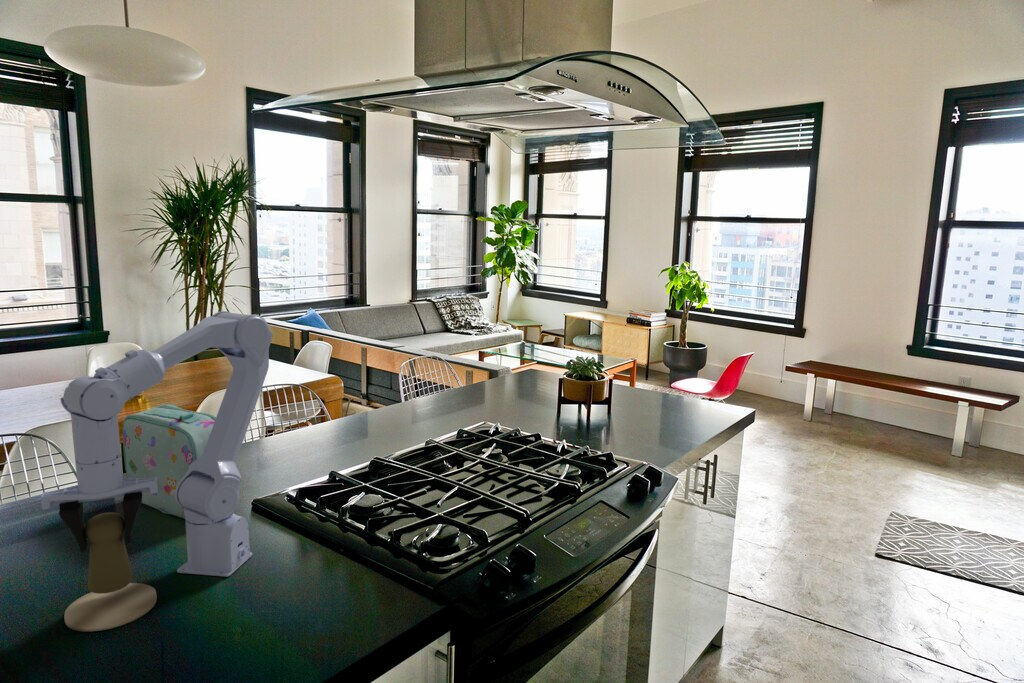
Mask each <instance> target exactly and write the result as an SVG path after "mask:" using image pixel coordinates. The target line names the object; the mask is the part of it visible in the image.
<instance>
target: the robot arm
mask: <svg viewBox="0 0 1024 683" xmlns="http://www.w3.org/2000/svg"><path fill="white" fill-rule="evenodd" d="M273 337H274V333H273V331H272V330H271V328H270V325H269V324H268V322H267V321H266V319H265V318H264V317H262V316H261V315H259V314H244V313H235V312H234V313H233V312H230V311H224V310H222V311H217V312H215V313H214V314H212V316H207V317H204V318H203V319H202V320H201V321H200V322H198V324H196V325H194V326H193V327H191V328H190V329H188V330H186V331H184V332H183V333H181V334H179V335H178V336H176V337H175V338H173V339H171V340H170V341H168V342H167V343H164V344H163V345H161V346H159V347H158V348H156V349H155V350H153V351H150V350H146V349H139V350H135V349H130V350H129V351H126V352H125V353H124V357H123V358H122V359H120V360H118V361H115V362H114V363H112V364H110V365H108V366H107V367H101V366H100V367H99V368H97V369H95V370H94V372H95V373H94V375H93V376H90V375H89V376H87V375H86V376H80V377H77V378H75V379H73V380H72V381H70V382H69V383H68V385H67V386H66V388H65V389H64V391H63V396H62V397H61V398H59V400H60V404H61V405H62V408H63V409H64V410H65V411H67V413H69V414H70V419H71V428H72V429H71V433H72V442H73V452H74V462H75V472H76V481H77V482H76V483H77V485H74V486H73V485H72V486H69V487H64V488H60V489H56V490H51V491H44V492H42V494H41V495H40V503H41V506H40V507H41V510H42V511H43V510H50V509H52V507H53V508H54V507H59V509H58V510H59V512H58V514H59V517H60V519H61V520H62V521H63V523H64V524H65V525H66V526H67V527H68V529H69V530H70V531H71V533H72V535H73V536H74V538H75V540H76V543H77V545H78V548H79V552H80V553H83V552H86V551H87V548H88V539H87V537H86V535H85V526H86V525H85V519H84V517H85V516H84V503H86V502H94V501H101V500H107V499H114V498H121V497H123V498H122V502H121V503H122V512H123V518H124V521H125V530H124V543H125V545H127V544H131V543H132V532H133V531H132V530H133V527H134V523H135V520H136V517H137V514H138V511H139V509H140V507H141V504H142V503H141V502H142V493H150V494H152V493H157V492H158V487H157V477H151V478H130V479H127V478H123V477H124V474H123V464H122V463H123V462H122V452H121V441H120V429H119V420H118V419H119V418H118V415H119V414H120V413H121V412H122V410H123V408H124V406H125V403H127V402H128V401H129V400H131V399H133V398H135V397H136V396H138V395H140V394H142V393H143V392H145V391H147V390H149V389H151V388H152V387H154V386H155V385H157V384H160V383H161V382H162V381H163V380H164V378H165V375H166V371H167V370H168V369H170V368H172V367H175V365H177V364H180V363H182V362H184V361H185V360H188V359H190V358H191V357H194V356H196V355H198V354H200V353H202V352H203V351H206V350H207V349H210V348H215V349H217V350H219V351H220V353H222V354H223V355H224V356H225V357H226V358H227V360H228V363H229V364H230V365H231V368H232V373H231V376H230V378H229V381H228V383H227V387H226V389H225V392H224V395H223V397H222V401H221V403H220V406H219V409H218V412H217V414H216V416H215V417H216V419H215V422H214V425H213V428H212V431H211V433H210V436H209V439H208V442H207V444H206V447H205V450H204V453H203V455H202V456H201V457H200V458H199V459H197V460H196V461H194V462H193V463H191V464H190V466H189V469H188V471H187V473H186V475H185V476H184V477H183V478H182V479H181V480H180V482H179V483H178V485H177V487H176V490H175V499H176V501H177V503H178V504H179V505H180V506H181V507H183V508H184V515H185V519H184V520H185V533H186V534H185V535H186V537H185V538H186V549H187V550H186V551H187V561H186V562H185V563H183V564H182V565H181V566H180V567H178V568H177V569H176V572H177V573H179V574H189V575H190V574H191V575H200V576H201V575H203V576H213V577H214V576H216V577H227V578H228V577H230V576H231V575H233V574H234V572H236V571H237V570H238V569H239V568H240V567H241V566H242V565H243V564H245V562H246V561H248V560H249V559H250V558H251V557H252V556H253V552H251V550H250V548H251V547H250V546H251V545H250V532H249V523H248V519H247V518H246V517H244V516H241V515H238V514H236V513H234V512H235V510H236V508H237V507H238V505H239V501H240V485H241V482H242V479H243V478H242V476H241V473H240V471H239V469H238V467H237V465H236V463H237V461H238V458H239V457H238V456H239V454H240V451H241V448H242V445H243V443H244V440H245V437H246V434H247V432H248V429H249V426H250V423H251V420H252V417H253V414H254V413H255V412H254V411H255V409H256V405H257V402H258V400H259V397H260V394H261V391H262V388H263V387H264V382H265V381H266V380H265V379H266V377H267V374H268V370H269V367H270V365H269V364H270V360H269V358H270V357H269V355H270V354H269V353H270V352H269V349H270V345H271V342H272V340H273ZM212 476H213V477H214V478H212Z"/></svg>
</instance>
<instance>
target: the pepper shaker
mask: <svg viewBox="0 0 1024 683" xmlns="http://www.w3.org/2000/svg"><path fill="white" fill-rule="evenodd" d="M84 526H85V535H86V537H87V541H89V542H90V543H89V556H88V557H89V559H88V576H87V577H88V578H87V589H88V590H89V591H90V592H93V593H98V594H102V593H110V592H114V591H117V590H120V589H122V588H124V587H126V586H127V585H128V584H129V583H132V581H133V580H134V573H133V568H132V565H131V562H130V558H129V555H128V552H127V547H126V544H125V539H124V535H123V534H124V533H125V521H124V516H123V515H122V514H120V513H118V512H111V511H110V512H102V513H99V514H96V515H94V516H92V517H91V518H89V519H88V520H87V521H86V523H85V525H84Z"/></svg>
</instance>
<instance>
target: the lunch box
mask: <svg viewBox="0 0 1024 683" xmlns="http://www.w3.org/2000/svg"><path fill="white" fill-rule="evenodd" d="M216 417H217V416H215V415H212V414H211V413H206V412H200V411H193V410H188V409H184V408H181V407H178V406H176V405H173V404H160V405H158V406H155V407H153V408H150V409H146V410H144V411H139V412H136V413H131V414H128V415H126V416H125V417H124V419H123V422H122V446H123V448H122V449H123V459H124V469H125V473H126V479H130V478H151V477H157V487H158V492H157V493H152V494H150V493H142V502H141V504H144V505H147V506H149V507H151V508H154V509H155V510H158V511H160V512H161V513H162V514H165V515H173V516H176V517H178V518H181V519H184V520H185V515H184V508H183V507H181V506H180V505H179V504H178V503H177V501H176V499H175V490H176V487H177V485H178V483H179V482H180V480H181V479H182V478H183V477H184V476H185V475H186V473H187V471H188V469H189V466H190V464H191V463H193V462H194V461H196V460H197V459H199V458H200V457H201V456H202V455H203V453H204V450H205V447H206V444H207V442H208V439H209V436H210V433H211V431H212V428H213V425H214V422H215V419H216ZM212 478H214V477H213V476H212Z"/></svg>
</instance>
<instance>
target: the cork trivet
mask: <svg viewBox="0 0 1024 683" xmlns="http://www.w3.org/2000/svg"><path fill="white" fill-rule="evenodd" d="M157 596H158V595H157V590H156V588H154V587H153V586H151V585H149V584H145V583H139V582H131V583H129V584H128V585H127V586H126V587H124V588H122V589H120V590H117V591H114V592H110V593H102V594H98V593H93V592H91V591H90V592H89V593H86V594H84V595H83V596H80V597H79V598H77V599H75V600H74V601H73V602H72V603H70V605H68V606H67V608H66V609H65V611H64V613H63V615H64V616H63V617H64V623H65V625H66V626H67V627H68V629H71V630H73V631H77V632H99V631H105V630H106V631H107V630H110V629H114V628H117V627H122V626H125V625H127V624H129V623H131V622H134V621H136V620H138V619H139V618H141V617H143V616H144V615H146V614H147V613H149V612H150V611H151V610H152V608H154V607H155V605H156V603H157V599H158V597H157Z"/></svg>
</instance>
